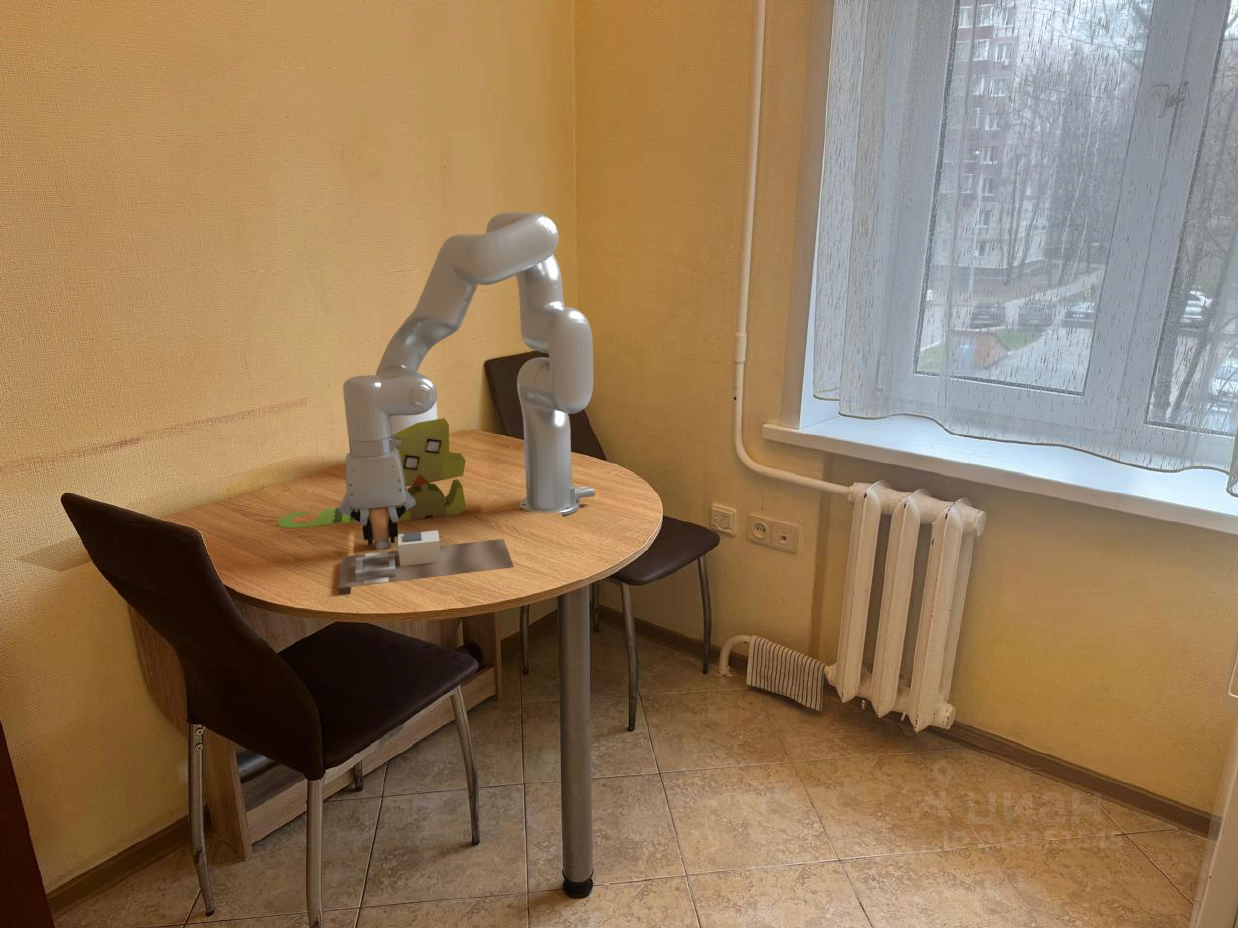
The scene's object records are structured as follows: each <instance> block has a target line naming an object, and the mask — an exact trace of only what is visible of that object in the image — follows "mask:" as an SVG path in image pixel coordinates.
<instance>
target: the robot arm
mask: <svg viewBox="0 0 1238 928" xmlns="http://www.w3.org/2000/svg"><path fill="white" fill-rule="evenodd" d="M485 231H486V233H483V234H473V233H472V234H468V233H461V234H455V235H451V236H449V237H447V239H446V240H445V241H444V242H443V244H442V245H441V247H440V249H439V250H438V253H437V256H436V257H435V258H436V259H435V261H434V262H433V266H432V268H431V270H430V273H429V276H428V278H427V280H426V282H425V285H424V288H423V290H422V292H421V295H420V297H419V300H418V301H417V303H416V305H415V308H414V309H413V311H412V312H411V313H410V314H409V315H408V316H407V318H406V319H405V320H404V321H403V322H402V324H401V325H400V326H399V328H398V329H397V330H396V331H395V332H394V334H393V336H392V337H391V338H390V340H389V342H388V344H387V345H386V348H385V349H384V352H383V354H382V356H381V359H380V362H379V364H378V366H377V368H376V372H375V375H358V376H353V377H350V378H348V379H346V380H345V381H344V383H343V387H342V391H343V392H342V393H343V399H344V400H343V401H344V410H345V419H346V429H347V435H348V444H349V452H348V453H346V456H345V486H346V489H345V491H346V493H345V496H344V498H343V500H342V502H341V504H339V505H340V506H339V507H338V508H339V511H340V512H341V513H343V514H346V515H348V516H351V517H352V518H354V519H355V520H357V521H358V522H357V523H359V524H360V525H361V527H362V534H363V541H367V544H368V546H370V547H371V546H373V541H374V540H373V539H372V534H371V525H370V520H369V518H368V517H367V513H368V509H375V508H385V507H388V508H389V512H390V519H389V529H390V538H389V539H390V543H391V544H395V543H396V539H395V538H398V534H399V529H398V522H397V521H398V519H399V518H400V517H401V516H402V515H403V514H404V513H405V511H406V510H408V509H410V508H411V507H413V506H414V505H415V504H416V500H415V499H414V497H413V496H412V495H411V493H410V492H409V491H408V488H407V487H405V480H404V473H403V466H402V461H401V457H400V454H399V451H398V449H395V446H398V445H402V441H401V437H399V438H397V437H394V436H393V433H392V423H391V416H396V415H419V414H422V413H425V412H427V411H428V410H430V409H431V408H432V407H433V405H434V404H435V402H436V403H437V398H438V392H437V387H436V385H435V384H434V382H433V381H432V380H431V379H430V377H428V376H426V375H425V374H422V373H420V372H418V371H419V368H420V366H421V364H422V362H423V360H425V359H424V358H425V357H426V355H427V354H428V353H429V352H430V350H431V349H432V348H433V347H434V346H435V345H436V344H438V343H439V342H441V341H443V340H445V339H447V338H449V337H450V336H451V335H453V334H455V333H456V332H458V330H459V329H460V328H461V326H462V325H463V323H464V319H465V317H466V315H467V312H468V310H469V307H470V305H471V303H472V300H473V297H474V295H475V293H476V291H477V288H478V285H480V286H490V285H495V284H498V283H500V282H502V281H505V280H507V279H510V278H512V277H514V276H515V277H516V280H517V288H518V296H519V297H518V301H519V317H520V331H521V332H520V334H521V339H522V340H523V343H524V344H525V345H526V346H527V347H528V348H529V349H531V350H534V351H537V352H540V353H543V354H548V356H549V357H544V356H543V357H542V356H539V357H534V358H531V359H528V360H527V361H526V362H524V363H523V365H522V366H521V368H520V369H519V371H518V373H517V379H516V386H517V387H516V388H517V395H518V399H519V403H520V408H521V412H522V413H521V414H522V415H521V416H522V423H523V445H524V446H523V447H524V465H525V466H524V468H525V487H526V488H525V490H526V496H525V497H524V498H523V499H521V500H519V501H520V502H519V509H521V510H522V509H524V510H525V511H528V512H533V513H538V514H555V513H560V515H561V516H566V515H570V514H572V513H573V514H574V513H575V512H576V511H577V510H579V508H580V505H581V503H580V502H581V501H580V500H581V498H591V497H592V498H593V497H595V492H596V491H595V488H594V487H587V486H586V485H580V486H575V485H574V484H573V482H572V481H573V478H572V475H573V474H572V447H571V445H572V444H571V442H572V441H571V423H570V422H571V421H570V416H569V414H570V415H571V414H577V413H579V412H582V411H583V410H584V409H585V408H586V407H587V406H588V404H589V403H590V401H591V399H592V395H593V392H594V391H593V390H594V349H593V348H594V345H593V344H594V343H593V333H592V329H591V325H590V322H589V320H588V319H587V317H586V315H584V314H583V313H582V312H581V310H578V309H576V308H573V307H569V306H565V301H564V290H563V279H562V273H561V268H560V266H559V263H558V261H557V259H556V257H555V255H554V253H555V252H556V250H557V248H558V245H559V230H558V227H557V226H556V224H555V222H554V221H553V220H552V219H551V218H550V217H548V216H547V215H545V214H543V213H538V212H517V211H516V212H515V211H514V212H512V211H511V212H510V211H508V212H502V213H498V214H496V215H494V216H493V217H492V218H490V220H489V221H488V222H487V225H486V229H485ZM396 506H398V508H396ZM358 510H361V512H360V511H358Z"/></svg>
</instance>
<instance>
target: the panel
mask: <svg viewBox="0 0 1238 928" xmlns="http://www.w3.org/2000/svg"><path fill="white" fill-rule="evenodd" d="M505 541H506V540H505V538H500V539H498V538H497V539H489V540H481V541H480V540H479V541H473V542H465V543H464V542H461V543H454V544H453V543H452V544H446V545H440V553H441V562H435V563H426V564H417V565H408V566H400V559H399V550H391V551H378V552H370V553H367V552H366V553H364V554H355V555H346V556H341V561H340V570H339V578H338V595H347V594H348V595H349V594H351V591H352V587H361V586H369V585H379V584H385V583H386V584H387V583H395V582H400V581H401V582H403V581H409V580H410V581H412V580H419V579H427V578H436V577H444V576H452V575H460V574H469V573H477V572H483V571H484V572H485V571H493V570H501V569H508V568H509V569H511V568H515V567H514V564H513V560H512V558H511V555H510V552H509V549H508V547H507V544H506V542H505Z"/></svg>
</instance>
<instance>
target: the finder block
mask: <svg viewBox="0 0 1238 928" xmlns="http://www.w3.org/2000/svg"><path fill="white" fill-rule="evenodd" d="M440 542H441V541H440V534H439V530H428V531H419V532H408V533H400V534H399V533H398V537H397V546H398V551H399V559H400V566H408V565H417V564H426V563H435V562H441V553H440V546H441V543H440Z"/></svg>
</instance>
